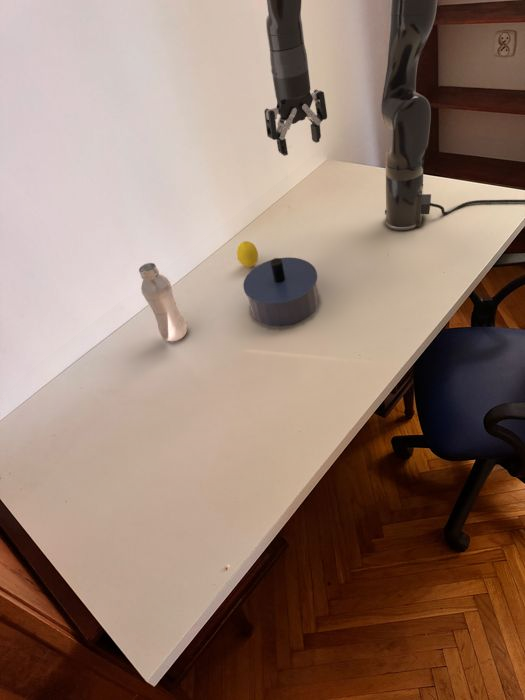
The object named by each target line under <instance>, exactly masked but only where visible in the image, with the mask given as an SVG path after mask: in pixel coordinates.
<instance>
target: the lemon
mask: <svg viewBox="0 0 525 700" xmlns="http://www.w3.org/2000/svg"><path fill="white" fill-rule="evenodd" d="M236 248H237V249H236V257H237V260H238V262H239V264H240V265H241V266H243V267H246V268H252V267H253V266H254V265H256V264H257V262H258V259H259V252H258V249H257V247H256V245H255V244H254V243H253V242H251V241H247V240H246V241H245V240H243V241H242V242H240V243H239V244H238V246H237V247H236Z"/></svg>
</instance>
